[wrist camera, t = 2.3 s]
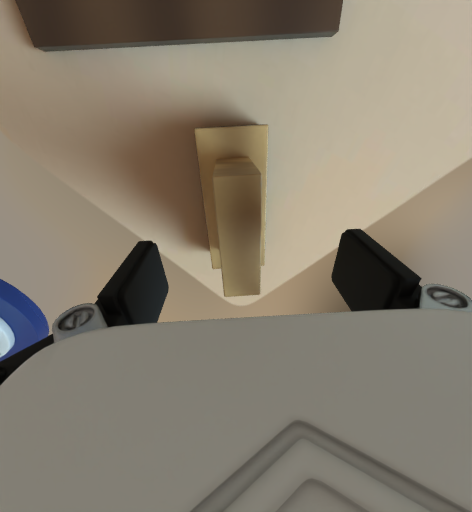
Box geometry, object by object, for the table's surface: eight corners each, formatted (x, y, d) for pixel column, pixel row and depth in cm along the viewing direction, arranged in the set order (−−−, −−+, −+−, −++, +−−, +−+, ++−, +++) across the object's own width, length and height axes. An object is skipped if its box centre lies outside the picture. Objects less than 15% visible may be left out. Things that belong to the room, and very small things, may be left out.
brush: (213, 252, 24) (208, 318, 16) (198, 128, 17) (176, 131, 9) (259, 249, 24) (277, 313, 16) (261, 124, 17) (293, 124, 9)
